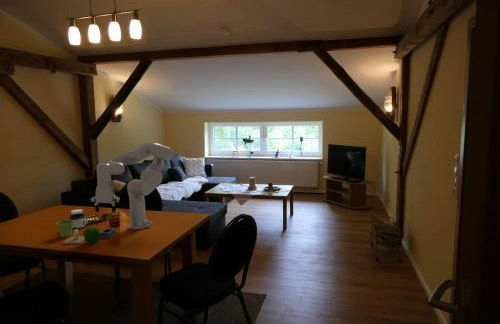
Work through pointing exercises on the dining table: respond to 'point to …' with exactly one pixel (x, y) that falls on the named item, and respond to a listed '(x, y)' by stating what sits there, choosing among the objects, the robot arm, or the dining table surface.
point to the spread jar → (78, 219)
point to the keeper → (75, 238)
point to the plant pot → (65, 227)
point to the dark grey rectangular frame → (107, 233)
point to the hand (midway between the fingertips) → (105, 211)
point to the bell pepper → (91, 235)
